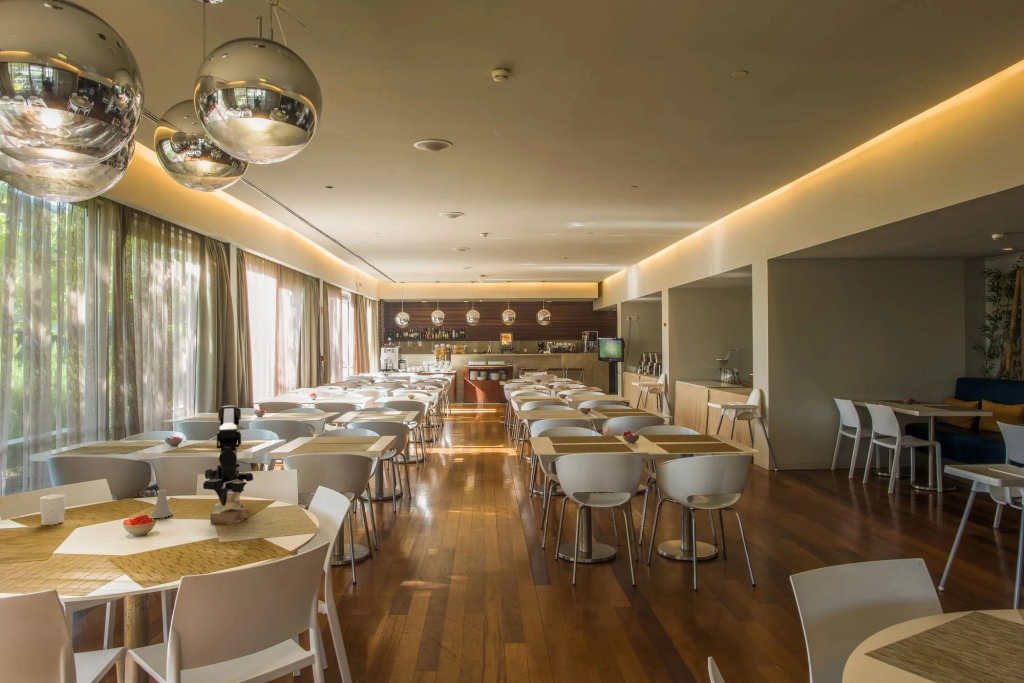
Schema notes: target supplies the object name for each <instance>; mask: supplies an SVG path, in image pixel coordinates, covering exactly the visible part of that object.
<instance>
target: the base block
mask: <svg viewBox="0 0 1024 683" xmlns="http://www.w3.org/2000/svg"><path fill="white" fill-rule="evenodd" d="M209 514H210V515H209V516H210V524H211V523H231V524H233V523H235V522H237V521H239V520H242V519H244V518H247V519H248V508H245V507H244V508H243V507H241V508H231V509H225V508H223V509H221V510H218V511H215V510H214V511H213V512H210V513H209ZM244 520H245V519H244ZM242 521H243V520H242ZM237 523H238V522H237ZM231 524H230V525H231ZM235 524H236V523H235ZM233 525H234V524H233Z"/></svg>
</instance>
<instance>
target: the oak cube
mask: <svg viewBox="0 0 1024 683" xmlns="http://www.w3.org/2000/svg"><path fill="white" fill-rule="evenodd" d="M240 496H241V493H239V492H227V499H226V504H225V506H222V504H221V502H220V499H219V498H218V503H219V508H225V509H231V508H234V507H238V506H240V504H241V503H240V501H241V500H240Z"/></svg>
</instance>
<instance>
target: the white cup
mask: <svg viewBox="0 0 1024 683" xmlns="http://www.w3.org/2000/svg"><path fill="white" fill-rule="evenodd" d="M39 510H40V511H39V512H40V518H41V525H42V524H55V523H60V522H63V521H64V522H65V512H66V494H64V493H57V494H56V493H55V494H54V493H53V494H47V495H44V496H40V497H39ZM64 522H63V523H64Z"/></svg>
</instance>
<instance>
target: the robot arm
mask: <svg viewBox="0 0 1024 683" xmlns="http://www.w3.org/2000/svg"><path fill="white" fill-rule="evenodd" d="M217 412H218V413H217V419H218V420H217V421H218V422H220V423H219V424H220V426H219V427H218V431H216V432H217V433H216V449H220V450H219V457H218V461H219V465H218V464H217V469H214V470H213V469H212V468H210V469H207V470H205V471H204V476H205V477H204V478H205V480H204V482H203V484H202V488H203V490H210V491H211V490H212V491H215V493H216V495H217V497H218V500H219V499H220V502H221V504H222V506H225V504H226V499H227V492H239V493H240V494H241V493H242V492H244V487H245V486H246V485H247V484H248V482H251V481H254V475H253V474H252V473H251V472H245V471H244V472H243V471H242V472H240V471H239V470H238V468H240V463H238V451H237V450H238V449H237V448H239V447H240V445H242V433H241V432H240V430H238V427H239V425H240V421H241V420H242V410H241V408H240V407H237V405H224V406H221V408H219V409H218V410H217ZM245 481H246V482H245ZM241 506H242V507H243V506H244V505H243V504H241Z"/></svg>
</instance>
